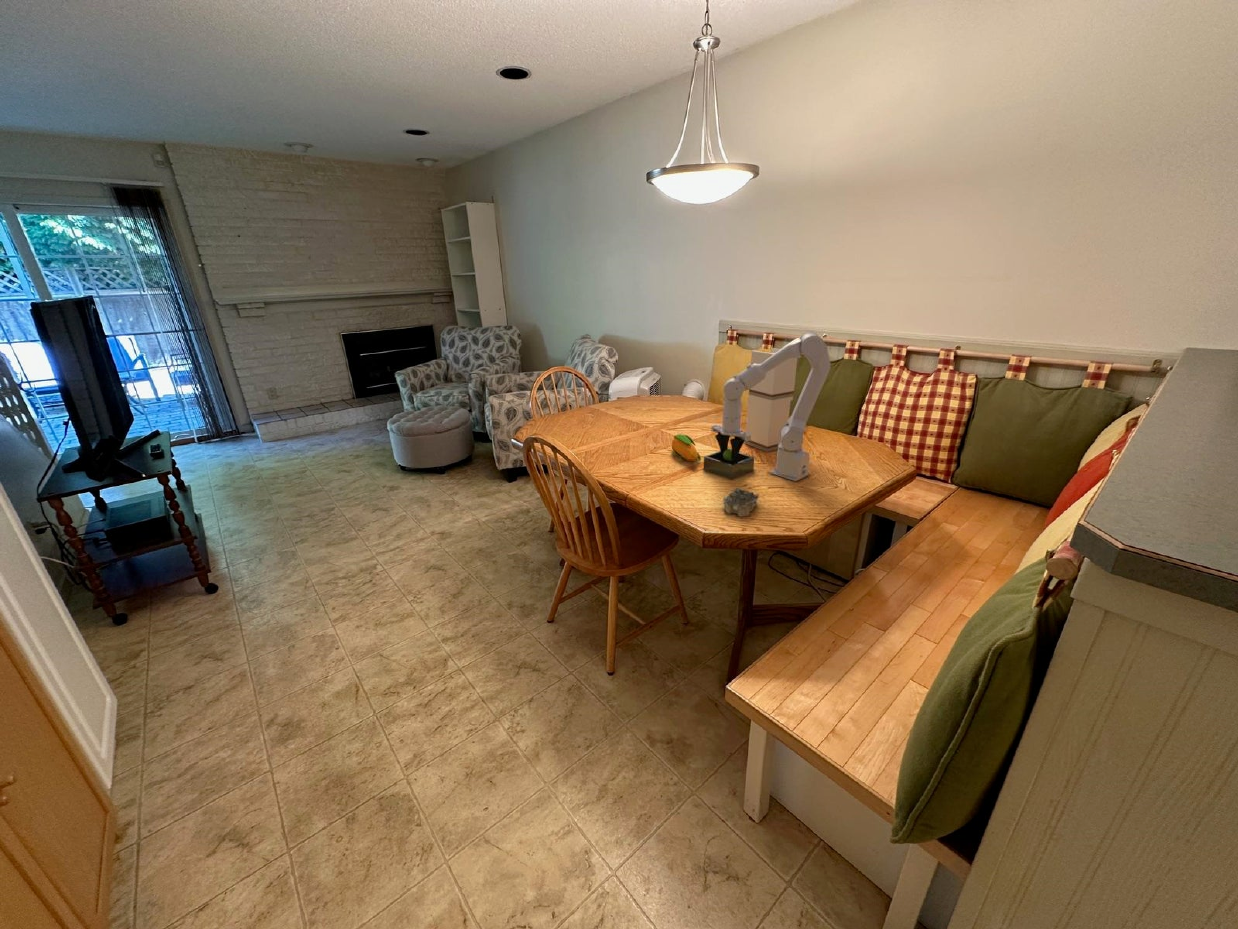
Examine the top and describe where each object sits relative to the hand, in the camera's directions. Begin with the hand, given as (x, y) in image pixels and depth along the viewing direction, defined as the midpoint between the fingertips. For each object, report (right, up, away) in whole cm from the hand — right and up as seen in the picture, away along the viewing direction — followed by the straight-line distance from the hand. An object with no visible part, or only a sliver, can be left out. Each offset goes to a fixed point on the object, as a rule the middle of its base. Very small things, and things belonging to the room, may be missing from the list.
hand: (729, 456), depth 157 cm
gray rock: (-3, -15, -24) cm, 29 cm away
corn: (-12, 0, +13) cm, 18 cm away
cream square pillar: (+19, +5, +24) cm, 31 cm away
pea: (0, -1, +1) cm, 1 cm away
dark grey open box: (0, -4, +2) cm, 5 cm away
